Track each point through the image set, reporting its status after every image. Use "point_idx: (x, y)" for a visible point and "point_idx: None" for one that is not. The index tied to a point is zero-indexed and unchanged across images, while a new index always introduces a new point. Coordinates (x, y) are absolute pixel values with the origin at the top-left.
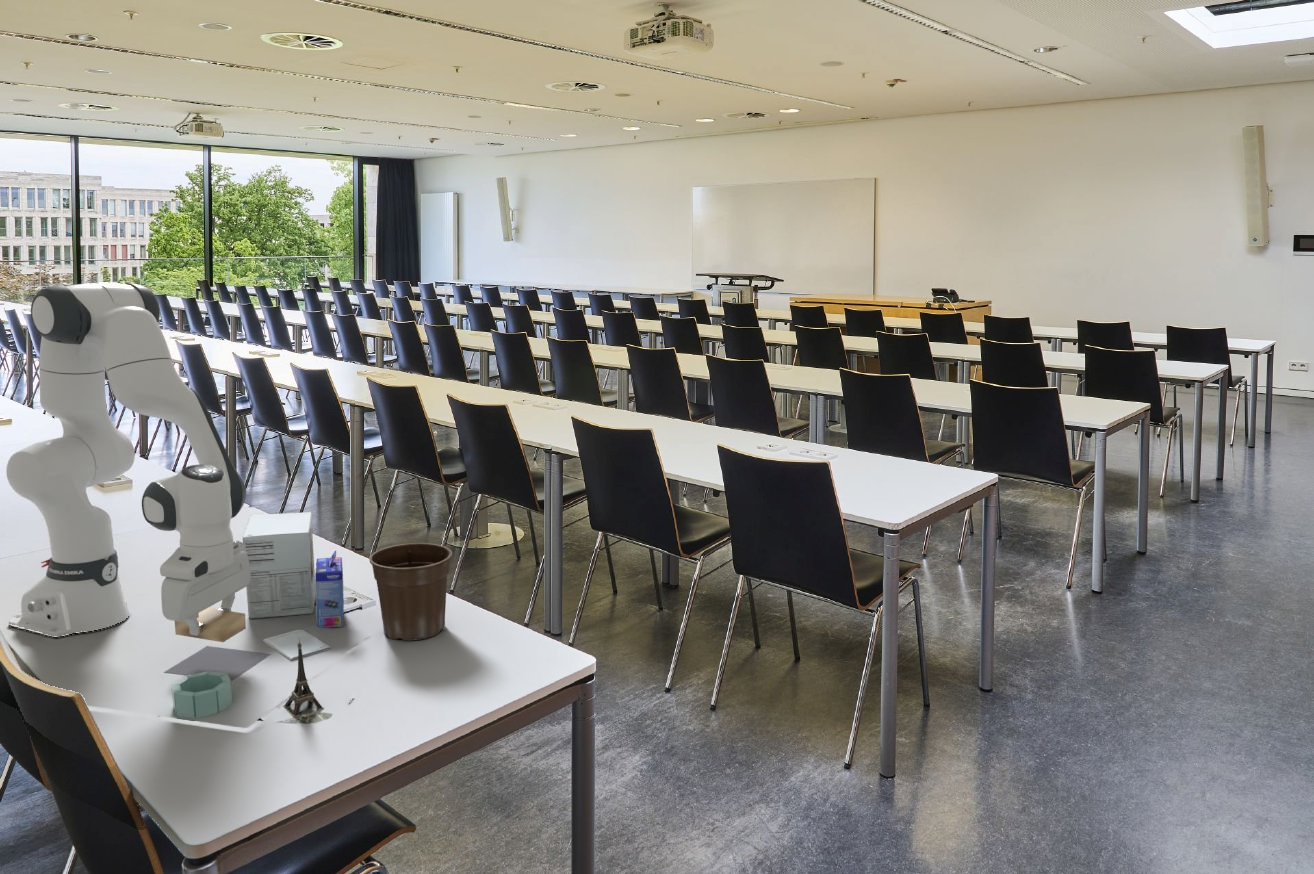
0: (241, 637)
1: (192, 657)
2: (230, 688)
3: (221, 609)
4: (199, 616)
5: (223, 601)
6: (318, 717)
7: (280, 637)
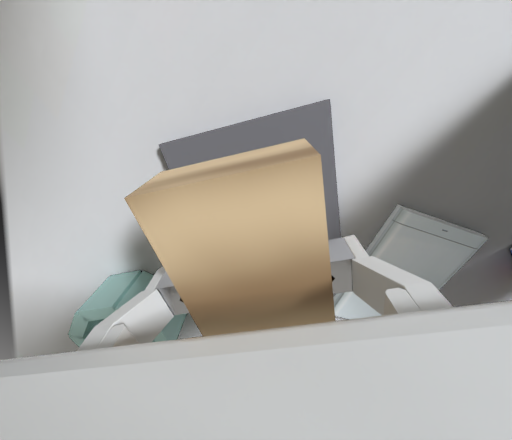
0: (429, 120)
1: (253, 132)
2: None
3: (336, 272)
4: (224, 261)
5: (381, 280)
6: None
7: (424, 237)
